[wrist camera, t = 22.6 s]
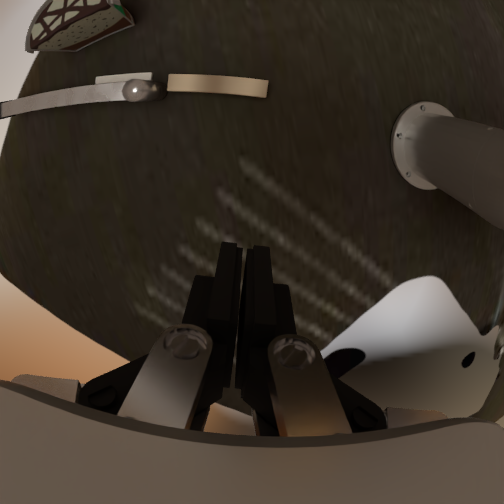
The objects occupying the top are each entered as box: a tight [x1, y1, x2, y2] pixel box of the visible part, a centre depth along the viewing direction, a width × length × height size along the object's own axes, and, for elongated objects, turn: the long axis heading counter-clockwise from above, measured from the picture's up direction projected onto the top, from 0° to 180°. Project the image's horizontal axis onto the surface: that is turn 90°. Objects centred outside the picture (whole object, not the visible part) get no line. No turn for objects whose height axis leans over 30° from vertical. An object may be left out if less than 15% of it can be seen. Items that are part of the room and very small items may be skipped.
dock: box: [167, 74, 268, 98], centre depth 24 cm, size 11×20×3 cm, turn 173°
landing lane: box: [95, 73, 153, 84], centre depth 25 cm, size 8×17×1 cm, turn 173°
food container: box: [25, 0, 135, 53], centre depth 20 cm, size 12×6×10 cm, turn 100°
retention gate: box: [0, 79, 167, 119], centre depth 26 cm, size 2×25×8 cm, turn 83°
